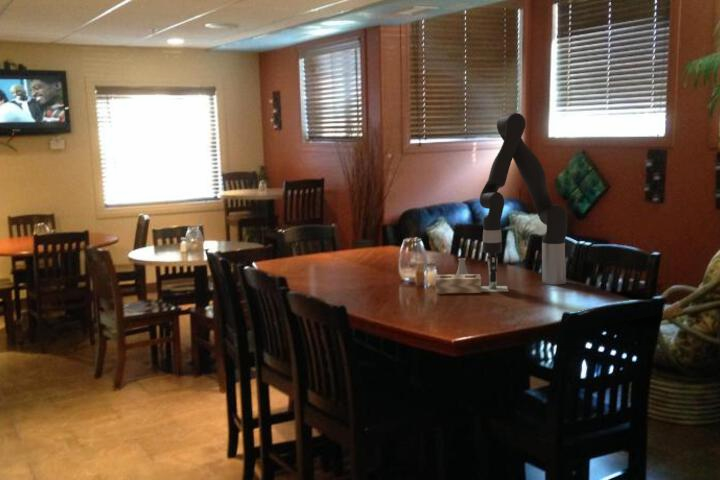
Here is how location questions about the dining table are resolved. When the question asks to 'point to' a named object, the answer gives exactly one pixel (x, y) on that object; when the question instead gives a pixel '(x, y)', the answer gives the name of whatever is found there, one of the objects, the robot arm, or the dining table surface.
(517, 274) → the dining table surface
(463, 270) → the flask
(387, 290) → the dining table surface
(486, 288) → the mat
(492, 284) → the peg
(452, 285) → the hole block
